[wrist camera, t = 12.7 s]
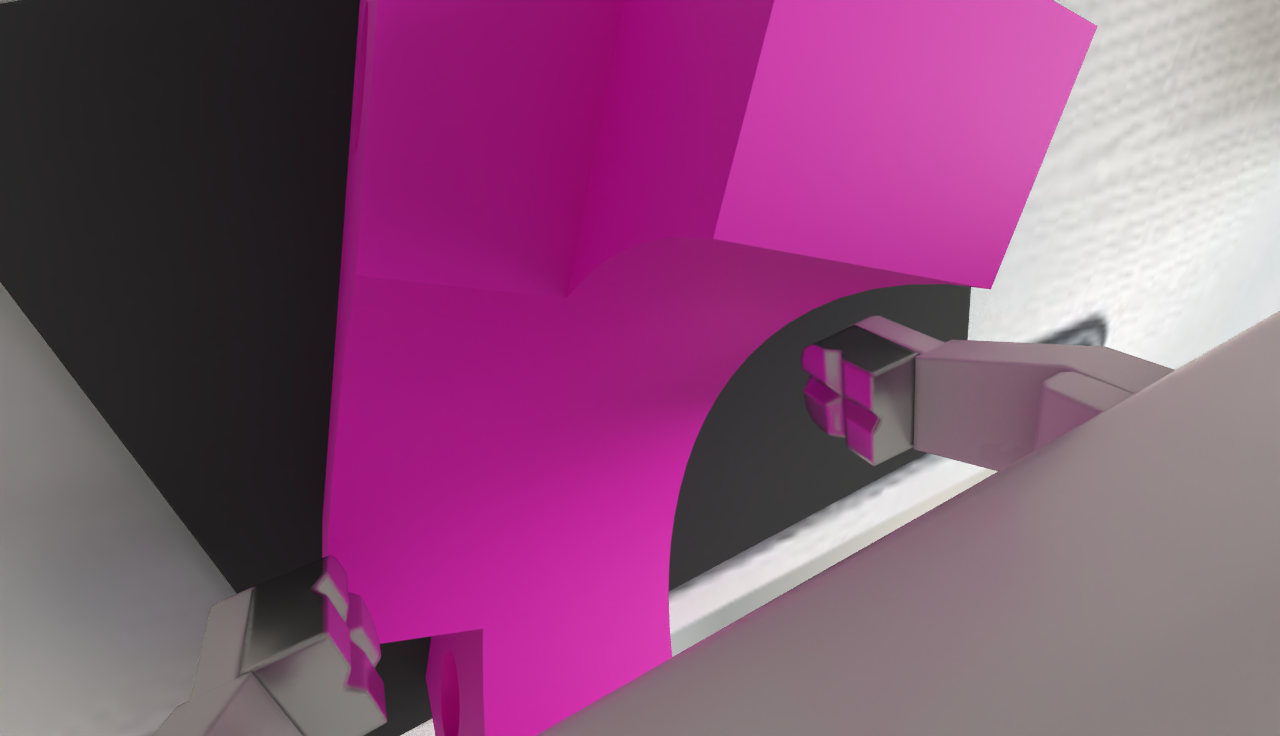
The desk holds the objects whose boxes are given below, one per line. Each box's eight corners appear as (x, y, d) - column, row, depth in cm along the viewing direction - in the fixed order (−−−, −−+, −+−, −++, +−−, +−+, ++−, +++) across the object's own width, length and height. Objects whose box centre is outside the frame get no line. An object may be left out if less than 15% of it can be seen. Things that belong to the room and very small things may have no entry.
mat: (359, 740, 16) (360, 758, 15) (-164, 38, 8) (-190, 35, 8) (949, 427, 21) (962, 434, 21) (982, -162, 14) (1002, -169, 13)
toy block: (364, -63, 9) (441, -355, 3) (708, 56, 12) (1098, 25, 6) (309, 697, 14) (297, 1183, 8) (569, 651, 17) (710, 978, 11)
